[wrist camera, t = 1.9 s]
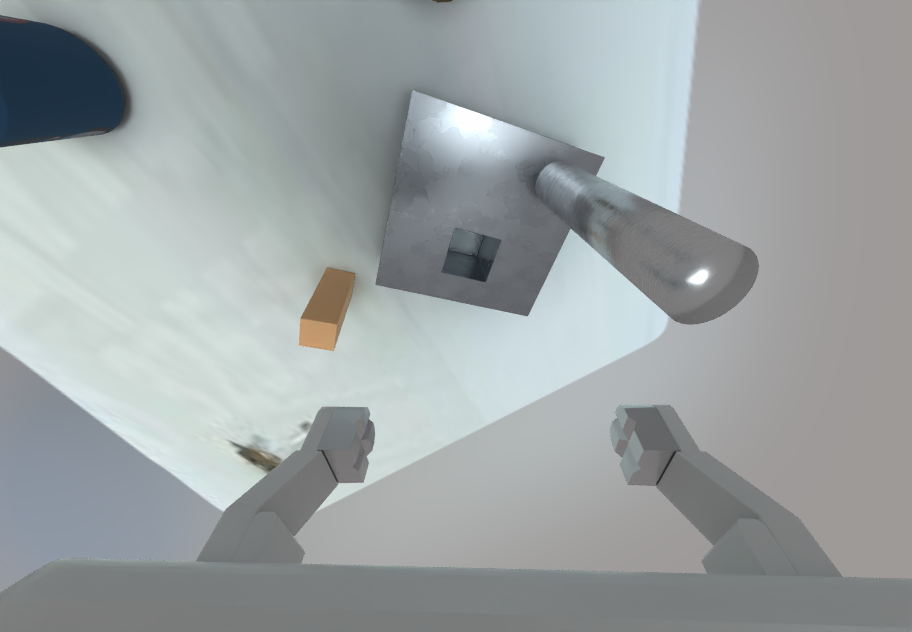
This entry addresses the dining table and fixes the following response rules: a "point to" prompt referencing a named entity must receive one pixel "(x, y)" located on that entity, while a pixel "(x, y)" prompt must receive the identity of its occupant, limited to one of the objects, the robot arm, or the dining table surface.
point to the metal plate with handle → (538, 221)
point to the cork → (442, 0)
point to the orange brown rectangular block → (326, 310)
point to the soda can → (53, 86)
